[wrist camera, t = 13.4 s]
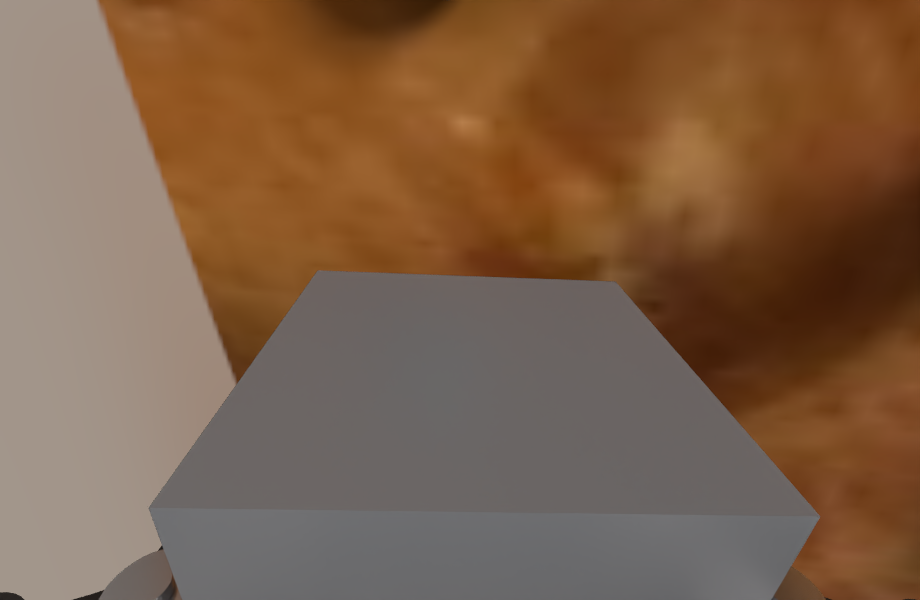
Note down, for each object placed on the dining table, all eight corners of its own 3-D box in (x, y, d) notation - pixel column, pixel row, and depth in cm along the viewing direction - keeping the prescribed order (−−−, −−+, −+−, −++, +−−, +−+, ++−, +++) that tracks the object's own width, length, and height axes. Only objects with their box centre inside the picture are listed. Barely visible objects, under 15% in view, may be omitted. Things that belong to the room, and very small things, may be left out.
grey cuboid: (615, 281, 10) (820, 516, 5) (569, 491, 13) (659, 789, 8) (317, 270, 10) (148, 508, 4) (338, 487, 13) (253, 796, 7)
